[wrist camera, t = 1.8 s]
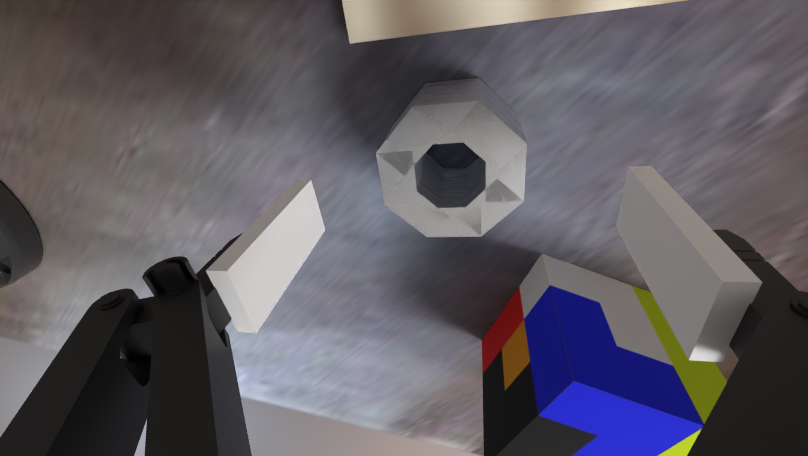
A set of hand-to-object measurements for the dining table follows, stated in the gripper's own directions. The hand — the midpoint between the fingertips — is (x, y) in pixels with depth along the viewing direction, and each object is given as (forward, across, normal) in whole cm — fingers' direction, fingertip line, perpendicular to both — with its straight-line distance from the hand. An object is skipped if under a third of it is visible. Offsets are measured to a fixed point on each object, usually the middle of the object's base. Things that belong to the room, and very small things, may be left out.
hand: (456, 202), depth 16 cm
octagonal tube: (+7, -1, 0) cm, 7 cm away
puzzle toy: (+8, +7, -15) cm, 18 cm away
